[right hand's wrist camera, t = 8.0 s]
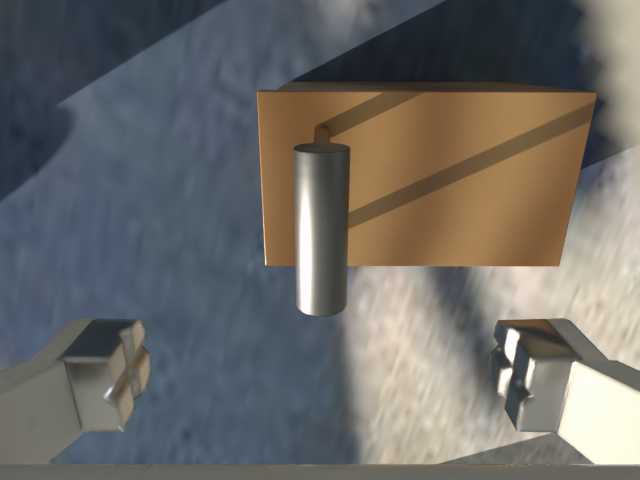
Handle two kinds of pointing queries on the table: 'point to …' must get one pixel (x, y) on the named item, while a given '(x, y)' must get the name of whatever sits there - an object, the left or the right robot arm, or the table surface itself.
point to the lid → (415, 180)
